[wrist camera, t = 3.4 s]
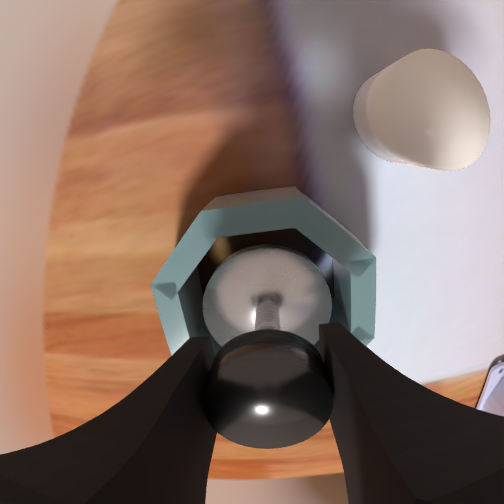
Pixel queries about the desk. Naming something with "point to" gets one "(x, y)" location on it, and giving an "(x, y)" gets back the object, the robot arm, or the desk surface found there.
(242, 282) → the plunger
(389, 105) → the cream rounded block
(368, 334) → the grey-green octagonal bowl
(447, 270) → the desk surface
